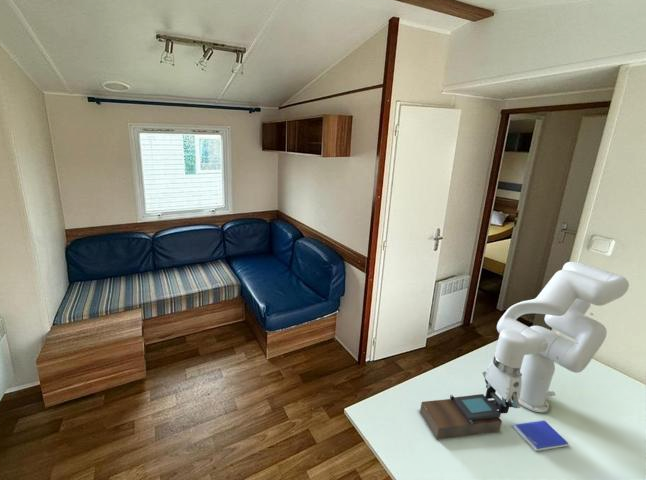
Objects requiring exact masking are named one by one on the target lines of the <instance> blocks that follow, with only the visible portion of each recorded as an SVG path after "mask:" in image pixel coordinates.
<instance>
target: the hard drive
mask: <svg viewBox="0 0 646 480" xmlns="http://www.w3.org/2000/svg"><path fill="white" fill-rule="evenodd" d="M513 428H514V430H515V431H517V433H518V434H519V435H520V436H521V437H522V438H523V439H524V440H525V441H526V442H527V444H528V445H529V446H530V447H531V448H532V449H533V450H534V451H535V452H539V451H545V450H551V449H556V448H557V449H558V448H563V447H568V446H569V442H568V441H567V440H566V439H565V438H563V436H562V435H561V434H560V433H558V432H557V431H556V430H555V428H554V427H552V426H551V425H550V424H549V423H548V422H547V421H546V420H537V421H531V422H530V421H529V422H525V423H515V424H514V425H513Z"/></svg>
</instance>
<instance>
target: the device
mask: <svg viewBox="0 0 646 480" xmlns="http://www.w3.org/2000/svg"><path fill="white" fill-rule="evenodd" d="M490 395H491V396H492V399H487V398H486V397H485V396H486V395H484V393H480V394H472V395H471V394H470V395H463V396H456V397H455V396H453V397H454V399H453V401H454V402H455V404H456V405H457V406H458V408H459V409H460V410H461V412H462V413H463V414H464V415H465V417H466V418H467V419H468V421H469V420H470V419H471V420H472V421H475V420H483V419H491V418H501V415H502V414H500V412H499V411H498V410H499V406H500V404H501V403H502V398H500V396H498V394H496V392H495V393H494V392H493V391H492V392H490Z"/></svg>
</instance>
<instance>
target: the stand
mask: <svg viewBox="0 0 646 480" xmlns="http://www.w3.org/2000/svg"><path fill="white" fill-rule="evenodd" d="M454 397H455V396H454V395H453V394H450V395H449V398H446V399H436V400H426V401H421V403H420V409H419V414H420V415H421V417H422V418H423V420H424V422H425V423H426V425H427V426H428V428H429V429H430V431H431V433H432V435H433V436H434V438H435V439H436V440H442V439H450V438H459V437H468V436H476V435H483V434H484V435H485V434H493V433H499V432H500V430H501V426H502V423H503V421H502V419H501V417H499V418H491V419H483V420H475V421H472V420H471V419H470V420H469V421H468V419H467V418H466V417H465V415H464V414H463V413H462V412H461V410H460V409H459V408H458V406H457V405H456V404H455V402H454V401H453V399H454Z"/></svg>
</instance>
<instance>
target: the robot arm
mask: <svg viewBox="0 0 646 480" xmlns="http://www.w3.org/2000/svg"><path fill="white" fill-rule="evenodd" d="M629 287H630V283H629V280H628V279H627V278H626V277H625V276H622V275H620V274H617V273H614V272H611V271H608V270H605V269H602V268H598V267H596V266H592V265H590V264H586V263H582V262H577V261H568V262H565V263H564V264H563V266H562V268H561V269H559V270H558V271H556V272H555V273H554V274H553V276H552V277H551V278H550V279H549V281H548V282H547V283H546V284H545V285H544V287H543V288H542V289H541V291H540V292H539V293H538V295H537V296H536V297H535V298H533V299H527V300H521V301H520V302H517V303H515V304H513V305H511V306H509V307H508V308H507V309H506V311H505V312H504V313H503V314H502V316H501V317H500V318H499V320H498V321H497V324H496V330H497V333H498V334H499V335H498V340H497V344H496V347H495V351H494V352H495V353H494V355H493V358H492V359H491V361H490V362H489V364H488V366H487V369H486V371H482V376H483V378H484V382H485V387H486V392H485V395H484V396H485V397H486V398H487V399H488V400H493V398H492V396H491V395H490V392H492V391H493V392H494V393H495V394H496V392H497V394H498V395H500V397H501V400H502V403H501V404H500V406H499V410H498V411H499V412H500V414H501V415H502V414H508V413H509V411H510V408H514V409H521V407H523V408H525V409H526V410H530V411H532V412H535V413H546V412H548V411H549V409H550V403H549V401H548V398H549V397H555V396H556V393H555V391H554V390H549V389H550V387H551V383H552V380H553V377H554V375H555V371H556V366H555V364H557V365H559V367H562V368H564V369H566V370H568V371H569V372H570V373H575V374H579V373H581V372H583V371H584V370H586V368H587V366H588V365H589V364H590V362H591V361H592V359H593V358H594V356H596V354H597V353H598V351H599V350H600V348H601V346H602V345H603V344H604V342H605V340H606V338H607V333H608V331H607V328H606V326H605V325H604V324H603V323H601V322H600V321H598V320H596V319H594V318H591V317H589V316H587V315H586V313H587V312H588V310H589V309H590V307H591V305H594V306H597V307H598V306H600V307H601V306H605V305H607V304H610V303H612V302H614V301H616V300H618V299H620V298H622V297H623V296H624V295H626V293H627V292H628V290H629ZM527 314H538V315H539V314H540V315H544V319H543V320H544V322H545V324H546V325H547V326H548V327H550V328H551V329H553V330H555V331H556V332H559V333H561V334H562V335H565V336H566V337H568V338H571V339H573V340H575V341H576V342H577V343H576V342H573V341H572V340H570V339H568V338H566V337H565V336H562V335H560V334H558V333H556V332H555V331H553V330H551V329H549V328H547V327H544V326H541V325H531V326H528V325H526V324H524V323H522V322H520V321H519V320H518V318H520V317H521V316H524V315H527Z"/></svg>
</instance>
